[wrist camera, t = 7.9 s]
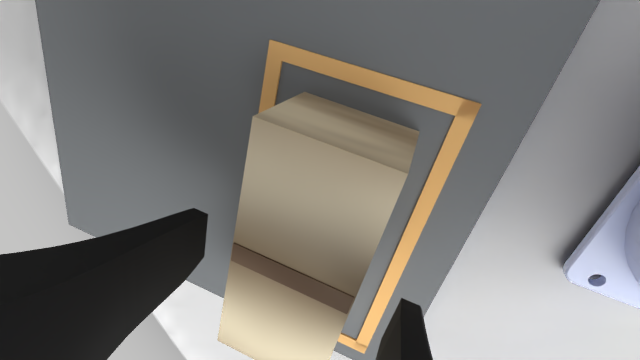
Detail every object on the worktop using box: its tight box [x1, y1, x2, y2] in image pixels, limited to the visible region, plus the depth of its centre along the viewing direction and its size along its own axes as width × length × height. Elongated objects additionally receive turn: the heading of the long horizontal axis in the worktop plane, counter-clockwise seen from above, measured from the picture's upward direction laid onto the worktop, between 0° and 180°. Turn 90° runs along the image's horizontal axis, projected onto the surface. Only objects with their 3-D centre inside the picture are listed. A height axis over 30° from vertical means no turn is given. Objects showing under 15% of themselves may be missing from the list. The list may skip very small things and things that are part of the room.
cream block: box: [218, 92, 419, 360], centre depth 13 cm, size 10×4×4 cm, turn 165°
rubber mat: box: [35, 0, 600, 360], centre depth 15 cm, size 21×20×1 cm
